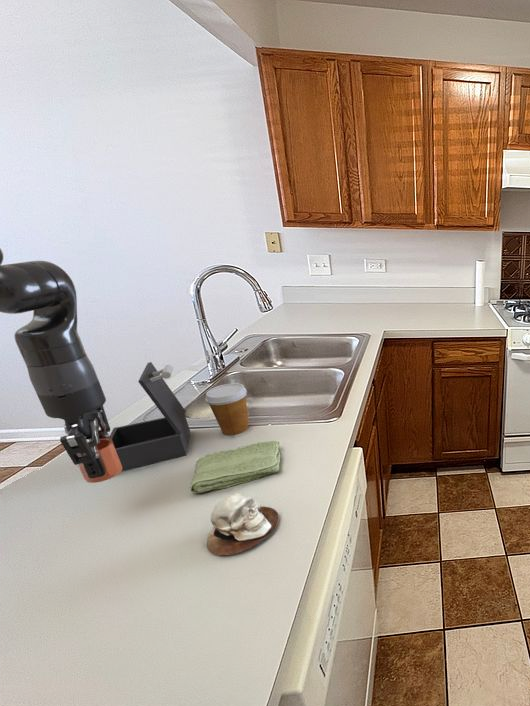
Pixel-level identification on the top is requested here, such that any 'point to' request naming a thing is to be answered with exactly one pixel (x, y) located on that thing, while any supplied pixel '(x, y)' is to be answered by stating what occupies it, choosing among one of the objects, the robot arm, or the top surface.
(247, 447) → the washcloth
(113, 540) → the top surface
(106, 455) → the creamer cup
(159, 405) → the lid
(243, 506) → the skull
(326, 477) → the top surface
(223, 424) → the disposable coffee cup
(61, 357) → the robot arm
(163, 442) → the dark grey box
